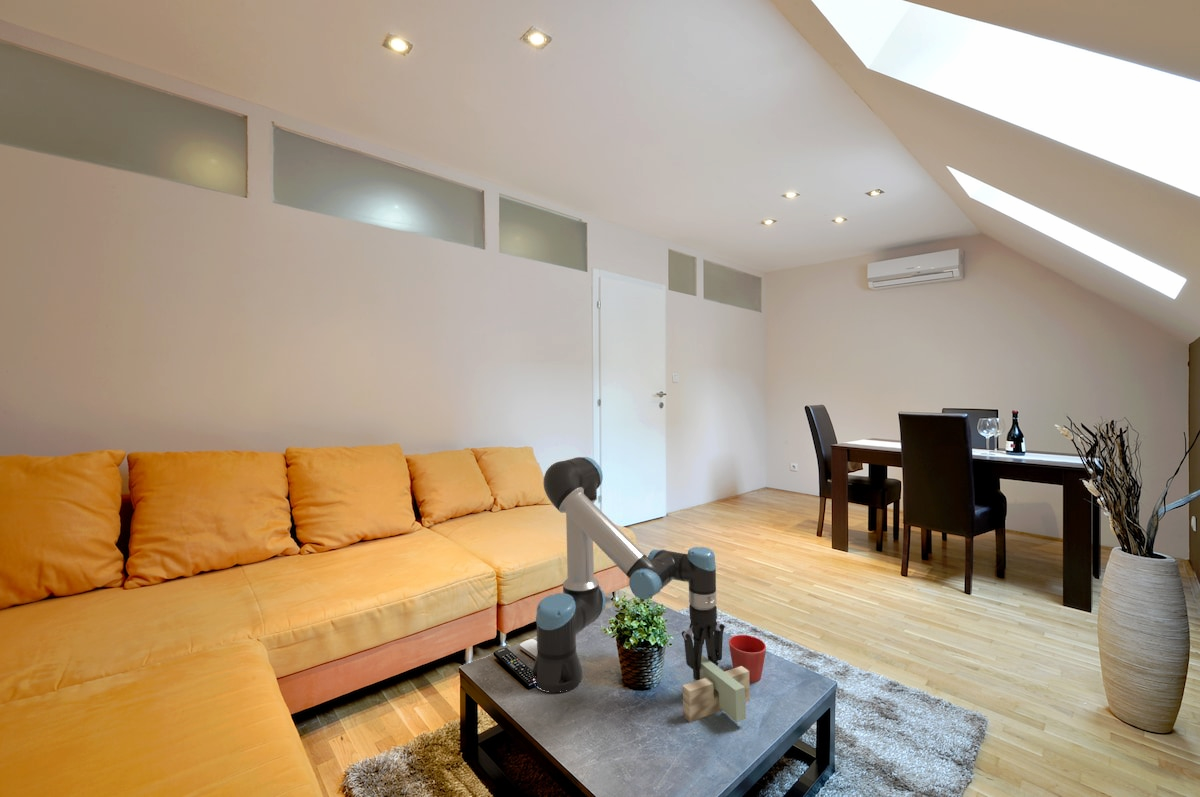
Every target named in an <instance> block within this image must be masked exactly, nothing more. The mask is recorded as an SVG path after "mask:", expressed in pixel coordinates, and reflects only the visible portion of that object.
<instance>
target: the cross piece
mask: <svg viewBox="0 0 1200 797" xmlns="http://www.w3.org/2000/svg"><path fill="white" fill-rule="evenodd" d="M701 668H702V669H703V678H706V677H707V678H708V679H709V680H710V681H711V682H713V683H714V689H716V690H717V691H718V692H719V707H720V708H721V709H722V711H723V712H724V713H725V714H727V716H728V717H730V718H731V719H732V720H733V721H735V723H738V722H742V721H744V720H746V719H747V713H746V712H747V711H746V706H747V705H746V702H745V687H744V686H743V685H741V684H740V683H739V682H737V681H736V680H735V679H733V678H732V677H731V676H730V675H728V674H727V673H726V672H724V669H722V668H721V667H719V665H717V666H716V665H715V664H714V663H712V662H711V661H710V660H708V657H707V656H706V657H705V656H704V655H703V654H702V658H701ZM692 677H693V676H692ZM694 681H695V679H694V677H693V682H694Z"/></svg>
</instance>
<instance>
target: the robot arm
mask: <svg viewBox="0 0 1200 797" xmlns="http://www.w3.org/2000/svg"><path fill="white" fill-rule="evenodd" d="M603 479H604V478H603V471H602V468H601V467H600V465H599V463H598V462H596V460H594V459H593V458H591V457H588V456H578V457H574V458H570V459H565V460H561V461H557V462H555V463H553V464H551V465H550V466H549V467H548V468H547V470H546V471H545V473H544V476H543V490H544V492H545V495H546V496H547V498H548V500H549V501H550V503H551V505H553V506H554V507H555V509H556V510H558V512H560V513H561V514H562V513H565V518H566V519H565V521H566V526H565V527H566V528H565V529H566V568H567V570H566V571H567V578H566V579H565V580H564V581H563V582H562V590H563V592H557V593H554V594H549V595H548V596H545V597H544V598H542V599H541V600H540V601H539V603H538V604H537V607H536V615H535V622H536V647H537V648H536V650H537V651H536V653H537V654H536V657H535V661H534V664H533V667H532V670H531V676H532V675H533V676H534V678H535V679H536V682H537V686H538V687H539V688H541V689H542V690H545V691H549V692H560V691H561V692H562V691H566V690H569V691H571V690H573V689H575V688H576V687H578V686H579V685H580V684H581V683H582V680H583V667H582V664H581V661H580V657H579V656H578V653H577V635H578V633H580V632H581V631H583V630H584V629H585V628H586V627H589V625H590V624H592V623H594V622H595V621H596V620H598V619H599V617H600V616H601V614H602V613H603V612H604V610H605V608H606V596H605V592H604V591H603V590H602V587H601V586H600V584H599V580H598V579H597V578H596V577H595V573H594V572H595V571H594V561H595V560H594V544H595V545H596V546H598V548H599V549H600V550H601V551H602V552H604V554H605V555H606V556H607V557H608V558H609V559H610V560H611V561H612V562H613V563H614V564H615V565H616V566H617V567H618V568H619V569H620V570H621V571H622V573H624V574H625V576H626V577H627V578H629V581H628V583H629V585H628V586H629V588H630V590H631V593H632V594H633V595H634V596H635V597H636V598H639V599H641V600H649V599H651V598H652V597H654V596H656V595H657V594H659V593H660V592H661V590H662V589H664V588H665V586H667V585H669V584H670V582H672V581H673V580H675V581H678V582H679V581H681V582H686V583H688V603H689V606H688V610H689V613H688V614H689V619H690V620H689V621H690V624H689V629H687V630H686V631H685V630H683V631H682V632H681V636H682V637H683V642H684V651H685V663H686V665H687V666H688V667H689V668H690V669H691V670H692V673H693V674H692V677H694V679H695V681H697V680H700V679H703V669H702V668H701V658H702V655H703V646H704V645H705V648H706V653H707V654H706V655H707V656H706V657H707V659H708V660H710V661H711V662H712V663H714V664H715V665H716V666H719V662H721V661H722V659H723V642H724V641H723V638H724V636H723V635H724V631H725V627H726V625H724V624H723V623H721V621H718V619H717V618H718V610H717V584H716V583H717V578H716V577H717V576H716V575H717V573H716V572H717V564H716V557H715V556H716V555H715V552H714V551H713V550H712V549H710V548H709V547H704V546H694V547H690V548H689V549H688V551H687V553H683V552H676V551H671V550H670V551H669V550H666V549H651V551H650V552H649V555H648V556H647V555H646V554H645V553H644V552H643V551H642V550H641V549H640V548H639V547H638V546H637V545H636V544H635V542H633V541H632V540H631V539H630V538H629V537H628V536H627V535H626V534H625V533H624V532H623V531H622V529H620V528H619V527H618V526H617V525H616V524H615V523H614V522H613V521H612V520H611V519H609V517H608V516H607V515H606V514H605V513H604V512H602V510H601V509H600V508H599V507H598V506H596V505H595V504H594V503H595V502H596V501H597V499H598V494H597V493H598V489H599V487H600V486H601V485H602V482H603ZM718 661H719V662H718ZM535 676H536V677H535ZM694 679H693V680H694ZM579 683H580V684H579ZM578 684H579V685H578ZM577 685H578V686H577ZM574 687H575V688H574ZM572 688H573V689H572ZM570 689H571V690H570ZM566 692H567V691H566ZM562 693H563V692H562Z"/></svg>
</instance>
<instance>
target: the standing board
mask: <svg viewBox="0 0 1200 797" xmlns="http://www.w3.org/2000/svg"><path fill="white" fill-rule="evenodd" d="M723 671H724V670H723ZM724 672H726V673H727V674H728V675H730V676H731V677H732V678H733V679H735V680H736V681H737V682H739V683H740V684H741V685H743V686H744V687H745V703H746V702H749V701H750V700H751V695H750V694H751V692H750V689H751V688H750V686H751V685H750V682H749V671H748V670H747V669H746V668H744V667H743V666H740V667H737V668H734V669H733V668H731V669H728V670H725V671H724ZM682 710H683V711H682V713H683V714H682V715H683V717H684V718H685V719H686V720H687V721H688V723H692V722H694V721H697V720H700V719H703V718H705V717H708V716H711V715H713V714H716V713H718V712H721V711H723V710H722V709H721V708H720V707H719V692H718V691H717V690H716V689H714V683H713V682H711V681H710V680H709V679H708V678H707V677H706V678H703V679H700V680H697V681H694V680H693V681H692V682H689V683H686V684H683V685H682Z"/></svg>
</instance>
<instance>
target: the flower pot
mask: <svg viewBox="0 0 1200 797" xmlns="http://www.w3.org/2000/svg"><path fill="white" fill-rule="evenodd" d="M728 645H729V654H730V658H731V663H732V664H731V665H732V669H734V668H737V667H740V666H743V667H744V668H746V669H747V670H748V671H749V682H750V683H757V682H759V681H760V680H761V679H762V674H763V669H764V664H765V658H766V653H767V652H766V650H767V645H766V643H765V642H764V641H763V640H761V639H760V638H758V637H755V636H752V635H749V634H748V635H747V634H738V635H737V634H736V635H734V636H732V637H730V638H729V640H728Z"/></svg>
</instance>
